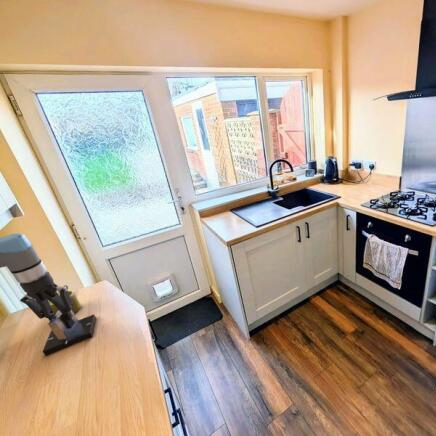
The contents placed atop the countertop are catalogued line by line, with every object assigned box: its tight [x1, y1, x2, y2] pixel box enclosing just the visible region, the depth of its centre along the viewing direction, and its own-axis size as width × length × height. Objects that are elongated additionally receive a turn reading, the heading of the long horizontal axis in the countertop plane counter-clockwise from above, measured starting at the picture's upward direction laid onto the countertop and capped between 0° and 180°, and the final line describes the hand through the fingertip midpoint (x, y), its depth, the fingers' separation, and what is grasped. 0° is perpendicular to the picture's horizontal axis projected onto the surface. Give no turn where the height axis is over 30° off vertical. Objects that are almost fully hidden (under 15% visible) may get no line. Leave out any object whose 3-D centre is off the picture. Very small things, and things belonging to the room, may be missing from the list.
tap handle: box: [47, 310, 79, 342], centre depth 92 cm, size 9×2×9 cm, turn 17°
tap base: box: [42, 314, 98, 357], centre depth 94 cm, size 14×13×3 cm
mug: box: [48, 290, 82, 314], centre depth 107 cm, size 12×10×10 cm
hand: (67, 326), depth 93 cm, fingers closed on tap handle, 2 cm apart
